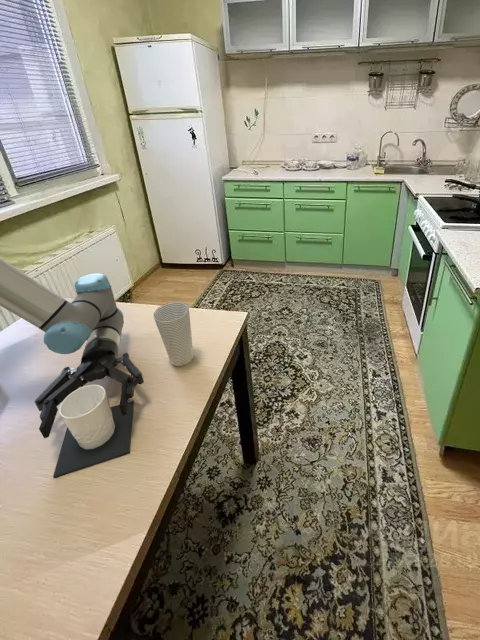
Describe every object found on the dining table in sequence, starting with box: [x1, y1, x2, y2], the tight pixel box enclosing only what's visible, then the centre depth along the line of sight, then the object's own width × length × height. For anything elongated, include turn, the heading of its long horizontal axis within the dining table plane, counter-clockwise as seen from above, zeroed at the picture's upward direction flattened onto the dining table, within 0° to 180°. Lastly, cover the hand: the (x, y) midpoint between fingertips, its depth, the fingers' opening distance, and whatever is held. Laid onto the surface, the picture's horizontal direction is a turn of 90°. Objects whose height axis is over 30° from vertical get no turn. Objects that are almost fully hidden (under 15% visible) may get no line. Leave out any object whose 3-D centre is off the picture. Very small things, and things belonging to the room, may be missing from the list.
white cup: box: [58, 384, 115, 449], centre depth 65 cm, size 8×8×10 cm
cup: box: [153, 301, 194, 367], centre depth 84 cm, size 8×8×16 cm
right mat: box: [52, 400, 135, 479], centre depth 67 cm, size 13×13×1 cm
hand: (84, 421), depth 62 cm, fingers open, 13 cm apart
